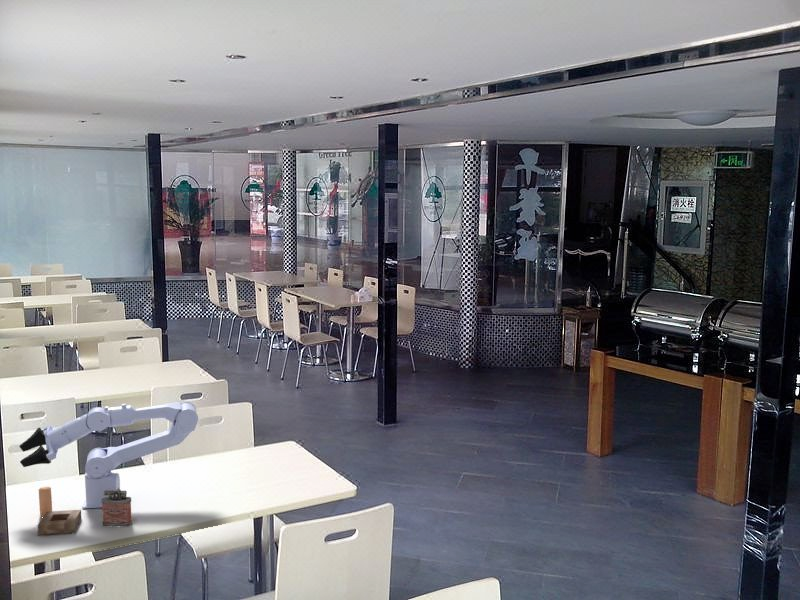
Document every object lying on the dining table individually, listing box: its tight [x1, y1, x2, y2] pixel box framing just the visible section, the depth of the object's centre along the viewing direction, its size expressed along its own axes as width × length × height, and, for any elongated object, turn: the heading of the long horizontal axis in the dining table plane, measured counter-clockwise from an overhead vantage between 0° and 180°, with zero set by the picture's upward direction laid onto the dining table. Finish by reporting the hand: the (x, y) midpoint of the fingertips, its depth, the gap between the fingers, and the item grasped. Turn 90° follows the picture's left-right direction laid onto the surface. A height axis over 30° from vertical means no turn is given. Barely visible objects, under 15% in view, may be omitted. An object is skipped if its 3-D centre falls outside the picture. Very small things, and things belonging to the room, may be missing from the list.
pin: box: [38, 486, 53, 518], centre depth 217 cm, size 3×3×8 cm
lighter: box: [101, 488, 133, 528], centre depth 211 cm, size 8×3×10 cm, turn 92°
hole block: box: [37, 509, 82, 537], centre depth 209 cm, size 9×9×3 cm
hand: (21, 456), depth 218 cm, fingers open, 7 cm apart
